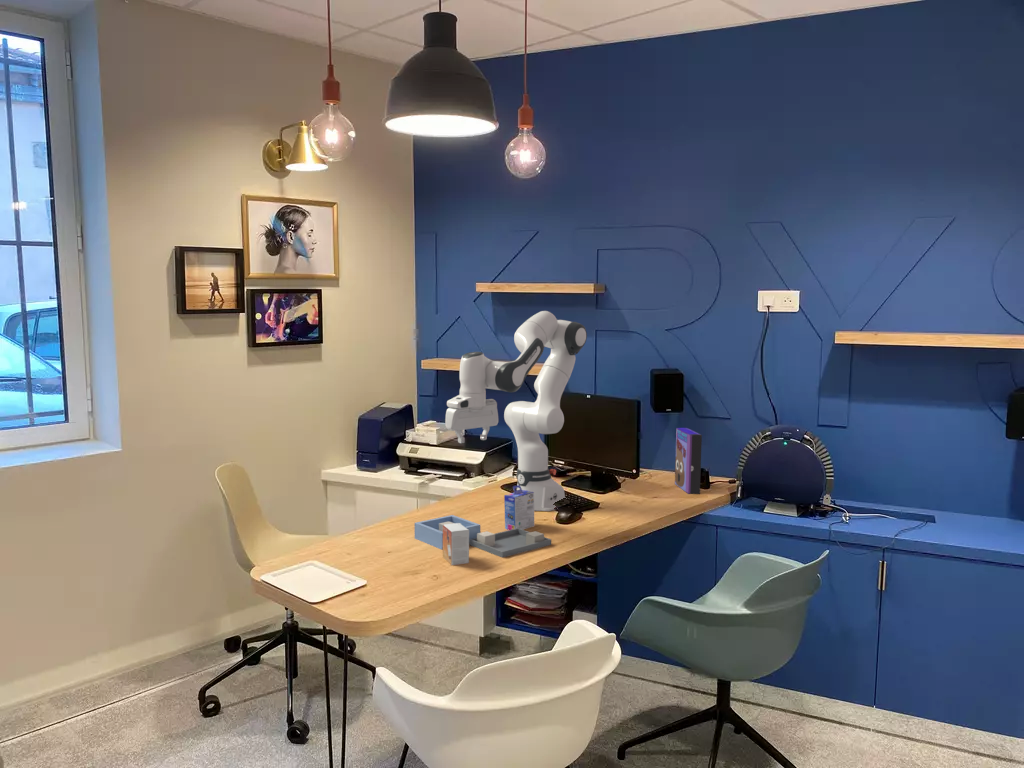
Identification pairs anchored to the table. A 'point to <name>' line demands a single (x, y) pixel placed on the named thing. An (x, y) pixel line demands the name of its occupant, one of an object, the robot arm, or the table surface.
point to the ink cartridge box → (519, 509)
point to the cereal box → (688, 460)
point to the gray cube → (534, 537)
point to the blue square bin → (434, 537)
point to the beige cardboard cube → (443, 524)
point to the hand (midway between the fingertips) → (472, 441)
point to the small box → (455, 544)
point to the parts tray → (510, 543)
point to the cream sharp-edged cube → (486, 538)
